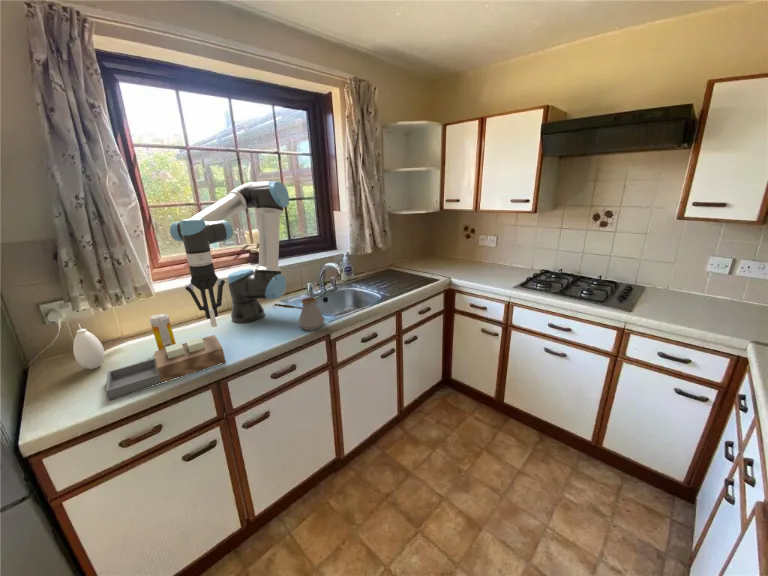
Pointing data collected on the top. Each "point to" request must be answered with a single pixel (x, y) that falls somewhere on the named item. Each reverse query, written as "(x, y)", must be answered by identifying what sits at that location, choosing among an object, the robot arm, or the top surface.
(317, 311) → the coffee pot
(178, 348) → the front tile
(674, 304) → the top surface
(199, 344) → the rear tile
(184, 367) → the walnut board
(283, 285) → the robot arm
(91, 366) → the air blower bulb
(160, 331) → the beer can
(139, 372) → the box
